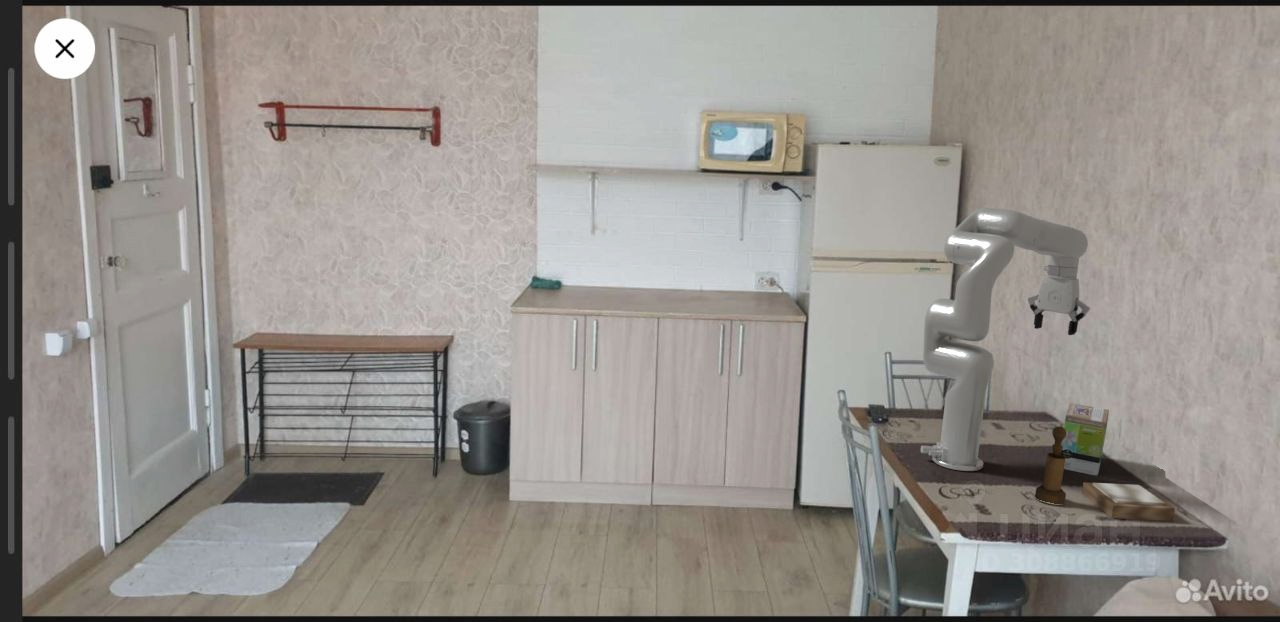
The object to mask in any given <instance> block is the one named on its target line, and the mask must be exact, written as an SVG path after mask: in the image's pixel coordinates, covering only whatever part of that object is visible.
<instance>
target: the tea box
mask: <svg viewBox="0 0 1280 622" xmlns="http://www.w3.org/2000/svg"><path fill="white" fill-rule="evenodd" d="M1109 412H1110V411H1109V409H1106V408H1102V407H1097V406H1096V407H1095V406H1090V405H1083V404H1077V403H1071V402H1070V403H1069V404H1068V408H1067V411H1066V413H1065V418H1064V422H1063V426H1062V427H1063V428H1064V429H1065V430H1066V437H1065V438H1064V439H1063V441H1062V443H1061V445H1062V446H1063V449H1062V451H1061V455H1063V456H1065V457H1066V459H1065V465H1064V470H1066V471H1072V472H1077V473H1082V474H1086V475H1090V476H1095V477H1096V476H1098V475H1099V471H1100V466H1101V461H1102V456H1103V452H1104V445H1105V441H1106V435H1107V427H1108V421H1109V414H1110V413H1109Z"/></svg>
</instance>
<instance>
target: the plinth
mask: <svg viewBox="0 0 1280 622" xmlns="http://www.w3.org/2000/svg"><path fill="white" fill-rule="evenodd" d="M1082 484H1083V485H1082V488H1081V489H1082V490H1081V495H1082V494H1083V495H1084V496H1083V495H1082V496H1083V497H1085V498H1086V497H1087V498H1088V499H1089V501H1090V502H1091V503H1092V504H1093V503H1094V504H1093V505H1095V506H1096V507H1097V508H1098V509H1099V510H1101V511H1102V512H1104V514H1106V515H1107V516H1108V517H1110V518H1111V519H1126V520H1127V519H1129V520H1142V521H1143V520H1145V521H1147V520H1148V521H1168V522H1169V521H1170V522H1173V521H1174V518H1175V512H1176V508H1175V507H1173V506H1172V505H1171V504H1170V503H1168V502H1167V501H1165V500H1164V499H1162V498H1161V497H1159V496H1158V495H1156V494H1155V493H1154V492H1152V491H1150V489H1148V488H1146V487H1145V486H1143V485H1141V484H1129V483H1126V484H1125V483H1124V484H1123V483H1110V482H1109V483H1106V482H1104V483H1103V482H1085V481H1084V482H1083V483H1082ZM1087 498H1086V499H1087ZM1088 499H1087V500H1088Z"/></svg>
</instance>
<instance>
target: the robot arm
mask: <svg viewBox="0 0 1280 622" xmlns="http://www.w3.org/2000/svg"><path fill="white" fill-rule="evenodd" d="M1088 244H1089V243H1088V237H1087V235H1086V233H1084V231H1082V230H1079V229H1077V228H1074V227H1070V226H1067V225H1062V224H1058V223H1056V222H1055V223H1054V222H1051V221H1048V220H1044V219H1039V218H1036V217H1033V216H1030V215H1028V214H1025V213H1023V212H1020V211H1018V210H1014V209H1007V208H1006V209H1004V208H996V207H995V208H993V207H981V208H977V209H976V210H974V211H973V212H971V213H970V214H969V215H968V216H967V217H966V218H965V219H964V220H963V221H962V222H961V223H960V224H958V226H956V227H955V229H954V230H952V232H951V233H950V234H949V235H948V237H947V239H946V241H945V243H944V250H943V251H944V256H945V257H946V259H947V260H948V261H949V262H950V263H954V264H957V265H964V266H968V268H967V269H966V271H964V272H963V273H962V275H961V276H960V277H959V278H958V280H957V281H956V285H955V294H954V295H955V297H954V299H950V298H949V299H948V298H938V299H936V300H934V301H933V302H931V304H930V305H929V306H928V308H927V311H926V313H925V317H924V330H923V331H924V333H923V351H922V352H923V357H922V358H923V365H924V366H925V367H924V368H925V369H926V370H927V371H929V372H930V373H932V374H934V375H938V376H943V377H946V378H949V379H953V380H956V382H955V383H954V384H953V385H952V387H950V388H949V390H948V391H947V393H946V394H945V395H946V396H945V400H944V410H943V416H942V417H943V418H942V425H941V426H942V427H941V433H940V434H941V435H940V441H936V444H934V445H932V446H931V445H930V446H929V445H921V446H920V453H921V454H928V456H932V458H931V459H932V461H933V462H934V463H935V464H937V465H939V466H941V467H944V468H947V469H951V470H953V471H954V470H955V471H961V472H962V471H963V472H975V471H979V470H981V469H983V468H984V461H983V460H982V459H981V458H979V448H980V441H981V432H982V425H983V418H984V409H985V408H984V407H985V401H986V395H987V389H988V385H989V383H990V379H991V377H992V376H991V375H992V373H993V368H994V365H995V364H994V361H995V360H994V357H993V355H992V353H991V352H990V351H989V350H987V349H986V348H984V347H982V346H977V345H975V344H970V343H966V342H960V341H955V340H950V338H954V339H958V340H962V341H969V342H980V341H982V340H984V339H985V338H986V337H987V335H988V333H989V330H990V329H989V328H990V321H991V320H990V319H991V303H992V294H993V293H992V292H993V287H994V285H995V283H996V280H997V279H998V278H999V276H1000V274H1002V272H1003V270H1004V269H1005V268H1006V267H1007V266H1008V265H1009V264H1010V262H1011V260H1012V259H1013V257H1014V255H1015V247H1018V248H1021V249H1023V250H1029V251H1033V252H1035V253H1037V254H1039V255H1043V256H1049V262H1048V264H1047V265H1044V266H1043V270H1044V271H1045V272H1047V273H1046V274H1045V275H1044V276H1043V279H1042V281H1041V284H1040V287H1039V292H1038V294H1036V295H1034V296H1033V295H1032V296H1031V297H1030V296H1029V297H1028V298H1027V301H1028V304H1029V308H1030V309H1031V311H1032V313H1033V315H1034V320H1033V325H1034V329H1036V330H1037V329H1041V328H1042V327H1043V321H1044V314H1043V312H1052V313H1056V314H1057V313H1058V314H1065V315H1068V317H1069V318H1070V319H1071V320H1070V321H1069V324H1068V328H1067V329H1068V330H1067V335H1068V336H1074V335H1075V334H1076V333H1077V331H1078V325H1079V321H1081V320H1082V319H1083V318H1084V317H1086V316H1087V314H1088V313H1089V312H1090V310H1091V308H1090V306H1088V305H1087V304H1085V303H1084V302H1083V301H1082V300H1081V299H1080V280H1079V278H1078V271H1079V270H1078V269H1079V262H1080V258H1081V257H1082V256H1083V255H1084V254H1085V253H1086V252H1087V250H1088ZM969 266H970V267H969ZM1036 301H1037V302H1036ZM1079 308H1080V309H1081V311H1080V313H1078V309H1079Z"/></svg>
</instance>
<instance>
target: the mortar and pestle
mask: <svg viewBox="0 0 1280 622" xmlns="http://www.w3.org/2000/svg"><path fill="white" fill-rule="evenodd" d="M1063 427H1064V426H1056V427H1054V428H1053V429H1052V430H1051V431H1052V432H1051V434H1052V438H1053V439H1054V442H1053V444H1052V446H1051V448H1052V452H1048V453H1047V455H1046V461H1045V468H1044V475H1043V481H1042V484H1041V485H1039V486H1037V487H1036V489H1035V494H1034V497H1036V498H1037V499H1039V500H1042V501H1045V502H1050V503H1054V504H1064V503H1066V498H1067V494H1066V492H1065V491H1064V489H1063V488H1062V483H1063V476H1064V470H1065V469H1064V465H1065V459H1066V457H1065V456H1063V455H1061V451H1062V449H1063V446H1062V445H1061V443H1062V441H1063V439H1064V438H1065V437H1066V430H1065V429H1064V428H1063ZM1036 498H1035V499H1036ZM1037 499H1036V500H1037ZM1064 505H1065V504H1064Z"/></svg>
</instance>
